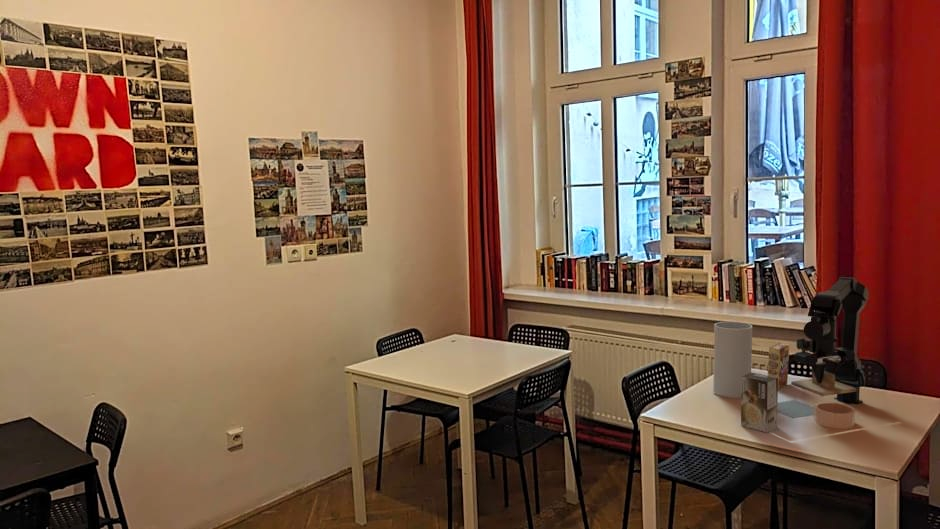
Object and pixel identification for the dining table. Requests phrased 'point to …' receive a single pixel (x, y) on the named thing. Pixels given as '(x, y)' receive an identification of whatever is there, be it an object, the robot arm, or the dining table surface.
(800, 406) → the rubber mat
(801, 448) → the dining table surface
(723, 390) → the cylinder vase
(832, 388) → the walnut lid
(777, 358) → the candy box
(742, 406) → the coffee box
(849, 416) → the terracotta bowl
